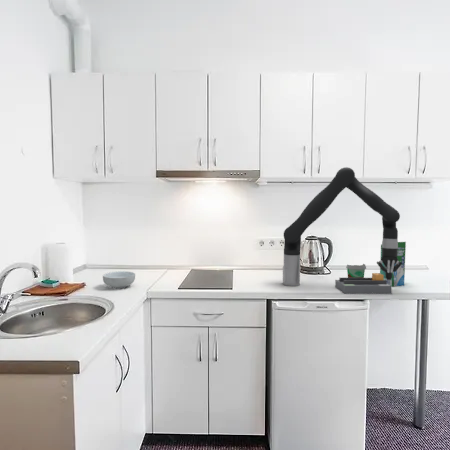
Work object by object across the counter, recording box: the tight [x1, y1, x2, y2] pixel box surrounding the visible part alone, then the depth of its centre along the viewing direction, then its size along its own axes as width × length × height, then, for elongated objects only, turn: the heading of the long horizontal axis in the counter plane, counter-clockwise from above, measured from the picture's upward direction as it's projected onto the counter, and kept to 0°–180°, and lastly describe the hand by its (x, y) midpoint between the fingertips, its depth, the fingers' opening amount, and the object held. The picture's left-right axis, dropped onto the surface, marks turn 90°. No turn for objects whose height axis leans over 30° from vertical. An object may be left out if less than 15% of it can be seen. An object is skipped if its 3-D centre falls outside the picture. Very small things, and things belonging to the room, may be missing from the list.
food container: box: [345, 263, 367, 278], centre depth 195 cm, size 12×6×10 cm, turn 105°
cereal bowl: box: [102, 270, 136, 290], centre depth 181 cm, size 17×17×7 cm
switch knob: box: [371, 272, 384, 280], centre depth 175 cm, size 4×4×4 cm
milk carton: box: [379, 241, 407, 287], centre depth 189 cm, size 9×9×25 cm
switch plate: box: [334, 277, 392, 295], centre depth 175 cm, size 24×14×6 cm, turn 90°
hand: (388, 279), depth 175 cm, fingers closed
